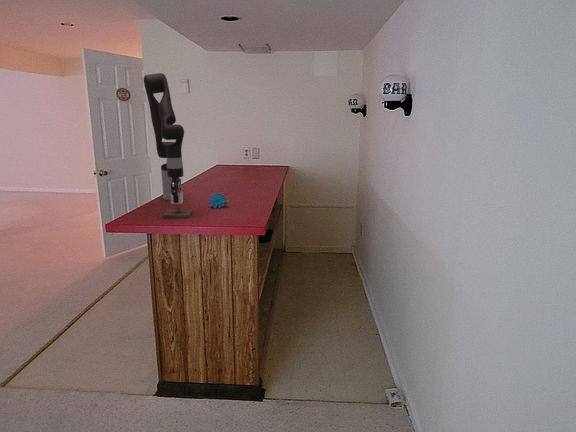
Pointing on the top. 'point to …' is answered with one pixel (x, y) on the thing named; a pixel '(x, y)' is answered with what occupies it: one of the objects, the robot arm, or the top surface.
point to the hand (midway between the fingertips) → (177, 201)
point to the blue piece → (218, 200)
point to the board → (178, 213)
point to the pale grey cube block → (180, 198)
